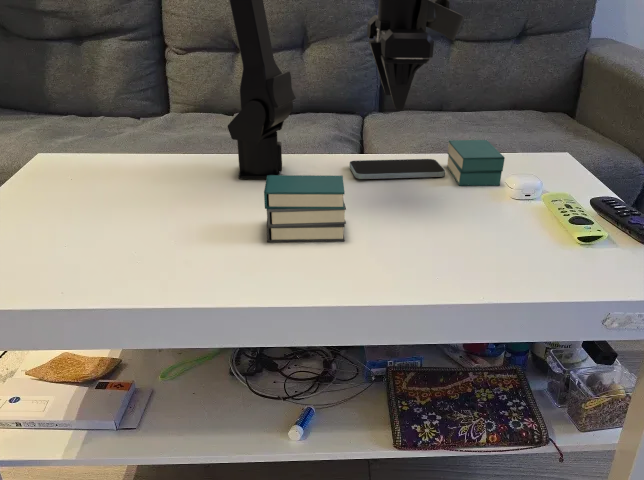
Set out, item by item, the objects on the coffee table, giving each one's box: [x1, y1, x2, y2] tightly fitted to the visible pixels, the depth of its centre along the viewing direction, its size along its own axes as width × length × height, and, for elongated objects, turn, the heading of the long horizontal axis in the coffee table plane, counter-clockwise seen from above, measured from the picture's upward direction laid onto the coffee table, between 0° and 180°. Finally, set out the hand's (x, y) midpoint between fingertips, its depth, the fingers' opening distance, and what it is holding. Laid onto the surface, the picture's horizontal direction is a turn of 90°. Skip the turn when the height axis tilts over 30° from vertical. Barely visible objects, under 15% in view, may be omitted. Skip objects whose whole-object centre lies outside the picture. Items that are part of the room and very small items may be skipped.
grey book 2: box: [266, 220, 346, 243], centre depth 89 cm, size 10×6×2 cm, turn 94°
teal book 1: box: [263, 174, 345, 210], centre depth 86 cm, size 10×6×2 cm, turn 92°
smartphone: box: [348, 158, 446, 180], centre depth 110 cm, size 7×1×15 cm
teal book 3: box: [446, 154, 503, 187], centre depth 109 cm, size 10×6×2 cm, turn 4°
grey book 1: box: [266, 202, 347, 227], centre depth 87 cm, size 10×6×2 cm, turn 97°
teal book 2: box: [447, 139, 506, 172], centre depth 108 cm, size 10×6×2 cm, turn 6°
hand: (393, 102), depth 96 cm, fingers open, 9 cm apart
